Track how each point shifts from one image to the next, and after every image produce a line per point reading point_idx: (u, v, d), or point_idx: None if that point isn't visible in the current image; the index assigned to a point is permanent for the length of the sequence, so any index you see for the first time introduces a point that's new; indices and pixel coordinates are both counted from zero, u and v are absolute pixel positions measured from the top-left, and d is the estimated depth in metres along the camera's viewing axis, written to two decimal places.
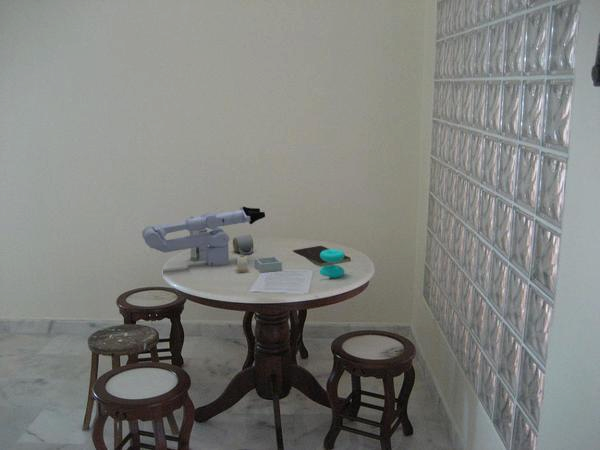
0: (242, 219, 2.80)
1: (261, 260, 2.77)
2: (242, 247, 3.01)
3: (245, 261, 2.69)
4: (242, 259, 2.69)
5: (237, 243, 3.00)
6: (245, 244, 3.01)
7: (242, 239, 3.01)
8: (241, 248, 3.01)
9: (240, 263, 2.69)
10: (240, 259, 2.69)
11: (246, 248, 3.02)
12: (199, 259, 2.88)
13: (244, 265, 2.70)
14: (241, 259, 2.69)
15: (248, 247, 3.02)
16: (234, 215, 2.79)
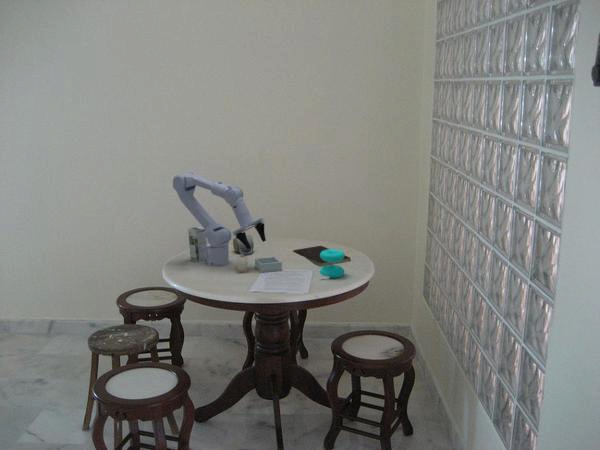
0: None
1: (261, 260, 2.77)
2: (242, 247, 3.01)
3: (245, 261, 2.69)
4: (242, 259, 2.69)
5: (237, 243, 3.00)
6: None
7: None
8: (241, 248, 3.01)
9: (240, 263, 2.69)
10: (240, 259, 2.69)
11: (246, 248, 3.02)
12: (199, 259, 2.88)
13: (244, 265, 2.70)
14: (241, 259, 2.69)
15: None
16: (237, 219, 2.72)
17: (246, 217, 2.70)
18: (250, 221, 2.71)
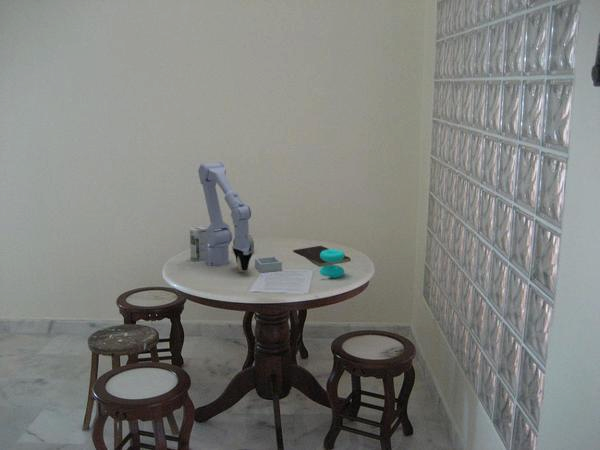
0: None
1: (261, 260, 2.77)
2: None
3: None
4: None
5: None
6: None
7: None
8: None
9: (240, 263, 2.69)
10: None
11: None
12: (199, 259, 2.88)
13: None
14: None
15: None
16: None
17: (237, 240, 2.66)
18: (240, 246, 2.66)
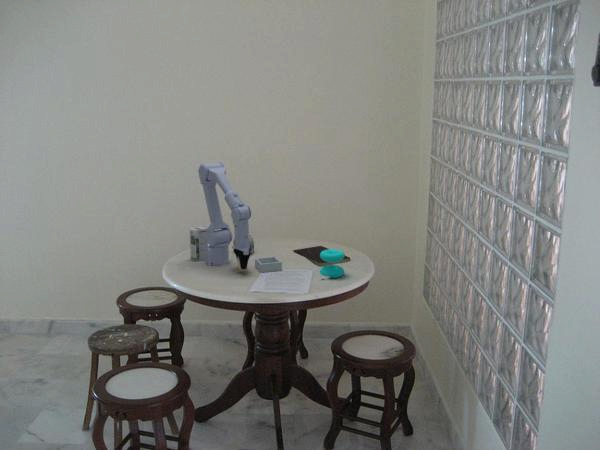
0: None
1: (261, 260, 2.77)
2: None
3: None
4: None
5: None
6: None
7: None
8: None
9: None
10: None
11: None
12: (199, 259, 2.88)
13: None
14: None
15: (249, 248, 3.01)
16: None
17: (237, 240, 2.66)
18: (240, 246, 2.66)
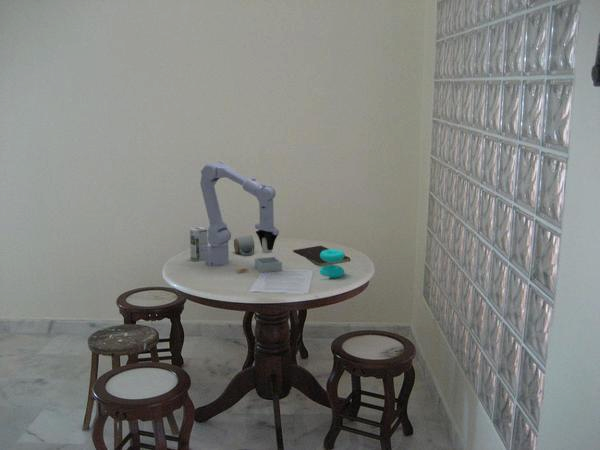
0: None
1: (261, 260, 2.77)
2: (243, 248, 3.00)
3: None
4: None
5: (238, 244, 2.99)
6: (246, 245, 3.00)
7: (243, 240, 3.00)
8: (242, 249, 3.00)
9: (266, 244, 2.71)
10: None
11: (247, 249, 3.01)
12: (199, 259, 2.88)
13: None
14: None
15: (249, 248, 3.01)
16: None
17: (265, 221, 2.68)
18: (267, 227, 2.68)
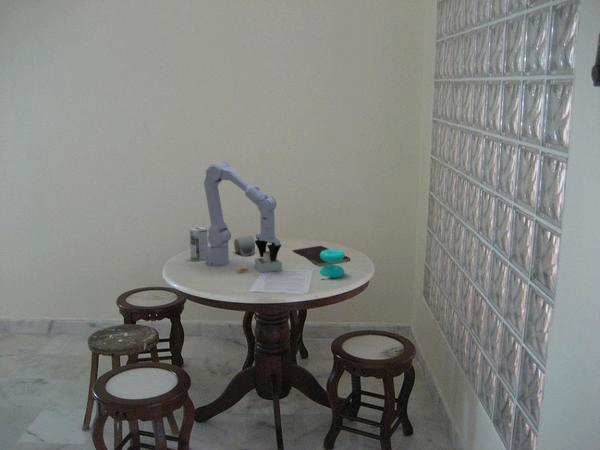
0: None
1: (261, 260, 2.77)
2: (243, 248, 2.99)
3: None
4: None
5: (238, 244, 2.98)
6: (246, 245, 2.99)
7: (243, 240, 3.00)
8: (242, 249, 2.99)
9: (268, 259, 2.72)
10: (268, 255, 2.72)
11: (247, 249, 3.00)
12: (199, 259, 2.88)
13: (271, 261, 2.73)
14: (269, 255, 2.72)
15: (249, 248, 3.00)
16: None
17: (266, 232, 2.69)
18: (268, 237, 2.69)
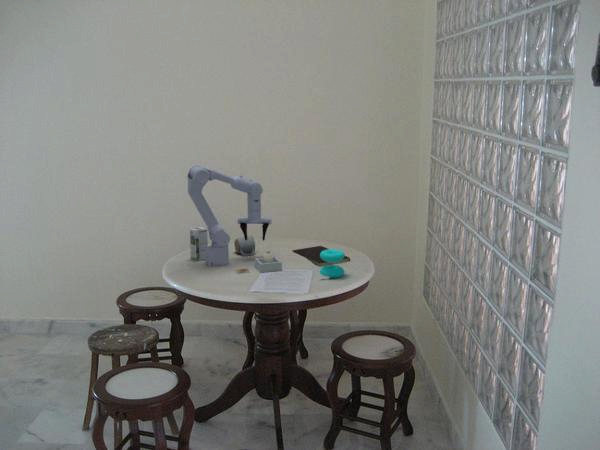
0: None
1: (261, 260, 2.77)
2: (244, 248, 2.99)
3: (272, 257, 2.73)
4: (270, 255, 2.72)
5: (239, 244, 2.98)
6: (247, 245, 2.99)
7: (244, 240, 2.99)
8: (243, 249, 2.99)
9: (268, 259, 2.72)
10: (268, 255, 2.72)
11: (248, 249, 3.00)
12: (199, 259, 2.88)
13: (271, 261, 2.73)
14: (269, 255, 2.72)
15: (250, 248, 3.00)
16: (248, 211, 2.85)
17: (258, 214, 2.84)
18: (259, 218, 2.85)
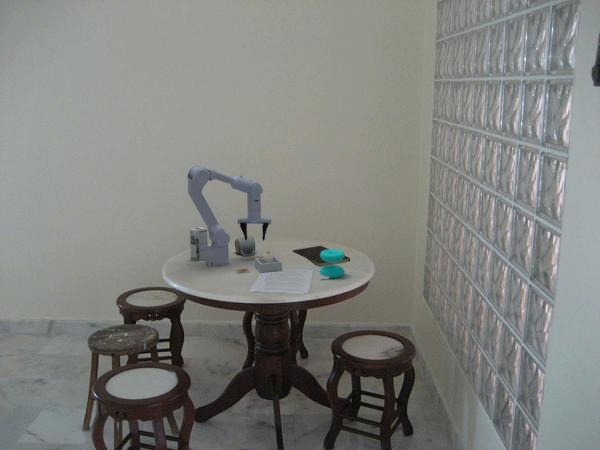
0: None
1: (261, 260, 2.77)
2: (244, 249, 2.98)
3: (272, 257, 2.73)
4: (269, 255, 2.72)
5: (239, 245, 2.98)
6: (247, 246, 2.99)
7: (244, 241, 2.99)
8: (243, 250, 2.98)
9: (267, 259, 2.72)
10: (267, 255, 2.72)
11: (248, 250, 2.99)
12: (199, 259, 2.88)
13: (271, 261, 2.73)
14: (268, 255, 2.72)
15: (250, 249, 2.99)
16: (248, 211, 2.85)
17: (258, 214, 2.84)
18: (259, 218, 2.85)
